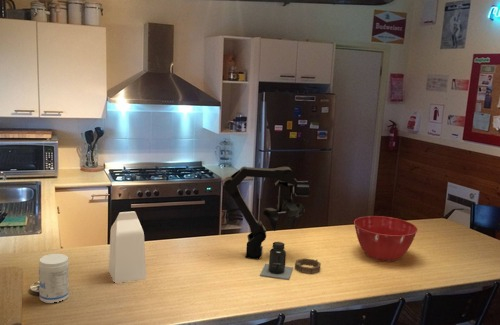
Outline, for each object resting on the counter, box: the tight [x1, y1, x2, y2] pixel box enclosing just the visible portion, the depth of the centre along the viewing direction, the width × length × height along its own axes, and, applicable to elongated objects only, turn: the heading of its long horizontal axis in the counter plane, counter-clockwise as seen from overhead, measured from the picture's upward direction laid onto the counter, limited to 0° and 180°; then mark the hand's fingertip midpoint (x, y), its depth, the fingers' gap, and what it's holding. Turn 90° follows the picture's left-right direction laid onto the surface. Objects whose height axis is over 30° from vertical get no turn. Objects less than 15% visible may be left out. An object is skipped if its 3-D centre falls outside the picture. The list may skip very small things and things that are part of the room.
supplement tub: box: [38, 253, 70, 304], centre depth 166 cm, size 10×10×15 cm
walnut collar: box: [294, 257, 322, 275], centre depth 204 cm, size 10×10×3 cm
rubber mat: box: [259, 263, 294, 281], centre depth 199 cm, size 12×12×1 cm
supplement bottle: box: [268, 241, 287, 274], centre depth 198 cm, size 7×7×12 cm
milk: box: [108, 211, 147, 284], centre depth 186 cm, size 12×12×26 cm
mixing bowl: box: [353, 215, 419, 263], centre depth 222 cm, size 28×28×15 cm
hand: (283, 229), depth 214 cm, fingers open, 9 cm apart
